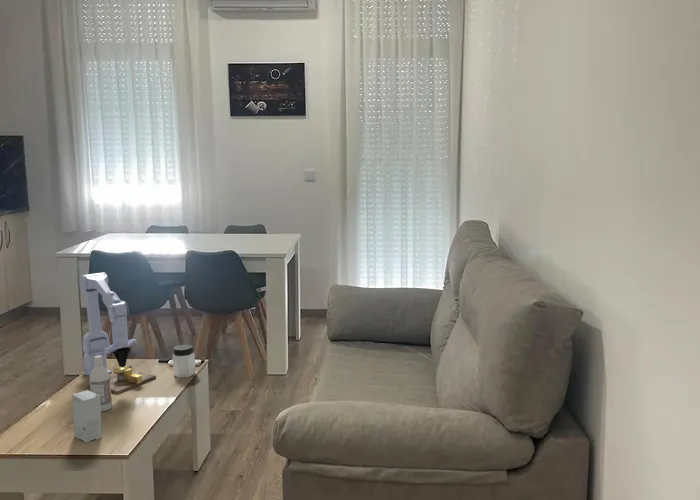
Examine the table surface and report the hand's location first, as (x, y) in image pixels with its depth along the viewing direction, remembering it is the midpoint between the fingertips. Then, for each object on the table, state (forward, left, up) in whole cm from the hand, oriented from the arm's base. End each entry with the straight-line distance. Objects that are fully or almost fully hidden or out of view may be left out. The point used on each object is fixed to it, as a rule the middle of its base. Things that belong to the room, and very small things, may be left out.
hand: (122, 366), depth 259 cm
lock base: (-8, +6, -10) cm, 14 cm away
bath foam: (+7, -17, -10) cm, 21 cm away
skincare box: (+23, -36, -10) cm, 44 cm away
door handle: (-4, +6, -8) cm, 11 cm away
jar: (+8, +25, -10) cm, 28 cm away
